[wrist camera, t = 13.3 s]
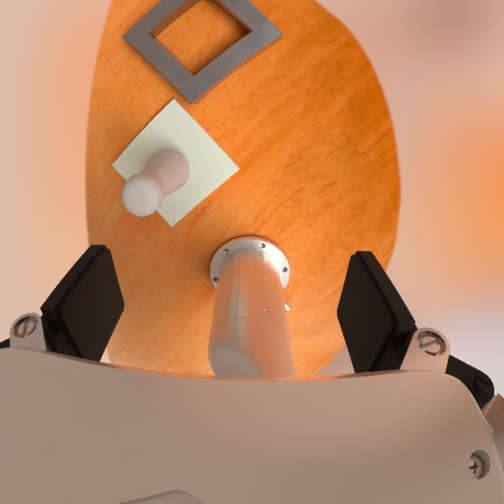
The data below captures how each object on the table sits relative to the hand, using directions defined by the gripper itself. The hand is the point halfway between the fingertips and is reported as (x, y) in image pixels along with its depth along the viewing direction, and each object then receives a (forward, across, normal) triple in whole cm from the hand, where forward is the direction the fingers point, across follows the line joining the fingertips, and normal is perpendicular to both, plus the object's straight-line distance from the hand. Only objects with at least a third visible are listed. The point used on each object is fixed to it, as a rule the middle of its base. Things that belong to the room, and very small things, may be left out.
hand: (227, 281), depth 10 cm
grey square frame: (+29, +6, -16) cm, 34 cm away
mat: (+29, +10, +2) cm, 31 cm away
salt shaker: (+28, +10, +2) cm, 30 cm away
